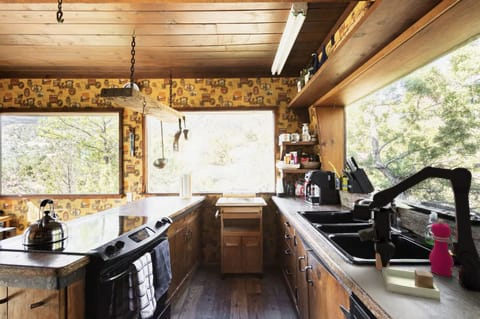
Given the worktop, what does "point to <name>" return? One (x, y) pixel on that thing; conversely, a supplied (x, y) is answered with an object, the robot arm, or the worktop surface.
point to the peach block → (379, 262)
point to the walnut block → (423, 279)
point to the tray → (407, 284)
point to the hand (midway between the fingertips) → (382, 263)
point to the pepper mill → (441, 249)
